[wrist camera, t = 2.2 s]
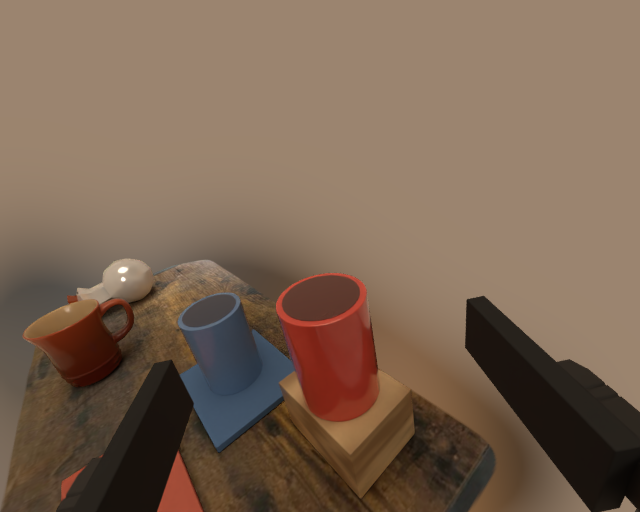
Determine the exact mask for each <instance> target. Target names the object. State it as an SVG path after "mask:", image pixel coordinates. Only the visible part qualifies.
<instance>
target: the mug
mask: <svg viewBox="0 0 640 512" xmlns="http://www.w3.org/2000/svg"><path fill="white" fill-rule="evenodd" d="M115 305H122V306H123V307H124V309H125V311H126V314H127V322H126V324H125V326H124V327H123V328H122V329H120V330H119V331H117V332H114V333H112V332H110V331H109V330H108V328H107V327H106V326H105V324H104V322H103V320H102V316H103V315H104V314H105V312H106V311H107V310H108V309H109V308H111V307H113V306H115ZM133 323H134V314H133V310H132V308H131V306H130V304H129V303H128V302H127V301H126V300H124V299H121V298H116V299H112V300H109V301H107V302H104V303H102V304H99V302H98V301H97V300H95V299H88V300H82V301H78V302H74V303H71V304H68V305H65V306H63V307H61V308H59V309H56V310H54V311H52V312H50V313H48V314H46V315H44V316H43V317H41V318H39V319H38V320H36V321H35V322H34V323H32V324H31V325H30V326H29V327H28V328H27V329H26V330H25V331H24V333H23V338H24V339H25V340H27V341H29V342H30V343H32V344H34V345H35V346H37V347H38V348H40V349H41V350H42V351H43V352H44V353H45V354H46V355H47V356H48V358H49V359H50V361H51V362H52V364H53V365H54V367H55V368H56V369H57V371H58V372H59V373H60V375H61V377H62V378H63V379H65V380H66V382H67V383H70V384H71V385H72V386H74V387H84V386H89V385H92V384H95V383H97V382H99V381H101V380H102V379H104V378H106V377H107V376H108V375H110V374H111V373H112V372H113V371H114V370H115V369H116V368H117V367H118V365H119V364H120V362H121V360H122V354H121V349H120V348H119V345H118V343H117V342H119V341H120V340H121V339H123V338H124V337H125V336H126V335H127V333H128V332H129V331H130V330H131V328H132V326H133Z"/></svg>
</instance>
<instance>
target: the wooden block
mask: <svg viewBox="0 0 640 512" xmlns="http://www.w3.org/2000/svg"><path fill="white" fill-rule="evenodd" d="M378 373H379V380H380V391H379V395H378V397H377V400H376V401H375V403H374V404H373V406H372V407H371V408H370V409H369V410H368V411H367V412H365V413H364V414H363V415H361V416H359V417H357V418H355V419H352V420H348V421H342V422H333V421H327V420H324V419H321V418H319V417H317V416H316V415H314V414H313V413H312V412H311V411H310V410H309V409H308V408H307V406H306V405H305V402H304V400H303V397H302V393H301V390H300V387H299V383H298V380H297V377H296V374H295V371H294V372H292V373H291V374H290V375H288V376H287V377H286V378H284V379H283V380H282V381H280V382H279V386H280V389H281V392H282V395H283V397H284V400H285V403H286V406H287V409H288V412H289V415H290V418H291V421H292V423H293V424H294V425H295V426H296V427H297V429H298V430H299V431H300V432H301V433H302V434H303V435H304V436H305V438H306V439H307V440H308V441H309V442H310V443H311V444H312V445H313V446H314V448H315V449H316V450H317V451H318V452H319V453H320V454H321V455H322V457H323V458H324V459H325V460H326V461H327V462H328V463H329V464H330V465H331V467H332V468H333V469H334V470H335V471H336V472H337V473H338V474H339V475H340V477H341V478H342V479H343V480H344V481H345V482H346V483H347V484H348V486H349V487H350V488H351V489H352V490H353V491H354V492H355V493H356V494H357V496H358V497H359V498H360V499H361V498H362V497H363V496H364V495H365V493H366V492H367V491H368V490H369V489H370V487H371V486H372V485H373V484H374V482H375V481H376V480H377V479H378V478H379V476H380V475H381V474H382V473H383V471H384V470H385V469H386V468H387V467H388V465H389V464H390V463H391V462H392V461H393V459H394V458H395V457H396V456H397V454H398V453H399V452H400V451H401V450H402V448H403V447H404V446H405V445H406V444H407V442H408V441H409V440H410V439H411V437H412V436H413V435H414V434H415V430H414V418H413V406H412V394H411V389H409V388H408V387H406V386H405V385H403V384H402V383H400V382H399V381H397V380H395V379H394V378H392V377H391V376H389V375H388V374H386V373H384V372H383V371H381V370H380V369H378Z"/></svg>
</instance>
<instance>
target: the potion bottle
mask: <svg viewBox="0 0 640 512" xmlns="http://www.w3.org/2000/svg"><path fill="white" fill-rule="evenodd" d="M153 282H154V277H153V274H152V270H151V268H150V267H148V266H147V265H146V264H145V263H144V262H142V261H141V260H134V259H128V258H127V259H122V260H117V261H114V262H113V263H112V264H111V265H110V266H109V267H108V268H107V269H106V270H105V271H104V273H103V279H102V283H100V284H98V285H96V286H94V287H92V288H91V289H84V288H77V295H76V296H67V297H68V303H69V304H71V303H74V302H78V301H82V300H88V299H95V300H97V301H98V302H99V304H102V303H104V302H107V301H109V300H112V299H116V298H121V299H124V300H126V301H127V302H128V303H130V302H134V301H137V300H141V299H143V298H144V297H145V296H146V295H147V294H148V293H149V292H150V290H151V288H152V285H153Z"/></svg>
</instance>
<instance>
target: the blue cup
mask: <svg viewBox="0 0 640 512" xmlns="http://www.w3.org/2000/svg"><path fill="white" fill-rule="evenodd" d="M178 325H179V327H180V330H181V332H182V334H183V336H184V338H185V340H186V342H187V344H188V346H189V348H190V350H191V352H192V354H193V356H194V358H195V360H196V362H197V364H198V366H199V369H200V371H201V373H202V375H203V377H204V379H205V381H206V383H207V385H208V387H209V389H210V390H211V391H212V392H213V393H215V394H218V395H231V394H235V393H238V392H240V391H242V390H244V389H245V388H247V387H248V386H250V385H251V384H252V383H253V382H254V381H255V380H256V379H257V378H258V376H259V375H260V373H261V370H262V366H263V362H262V359H261V356H260V353H259V350H258V348H257V345H256V342H255V339H254V336H253V334H252V331H251V328H250V325H249V323H248V320H247V317H246V314H245V312H244V309H243V306H242V303H241V300H240V298H239V297H238V296H237V295H236V294H233V293H218V294H213V295H210V296H207V297H205V298H202V299H200V300H198V301H196V302H195V303H193V304H191V305H190V306H189V307H187V308H186V309H185V310H184V311H183V312H182V313H181V315H180V317H179V319H178Z"/></svg>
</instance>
